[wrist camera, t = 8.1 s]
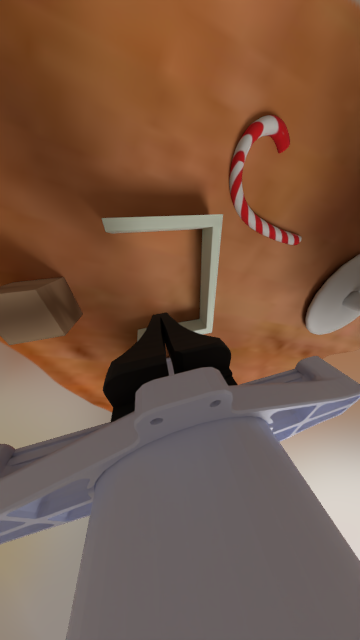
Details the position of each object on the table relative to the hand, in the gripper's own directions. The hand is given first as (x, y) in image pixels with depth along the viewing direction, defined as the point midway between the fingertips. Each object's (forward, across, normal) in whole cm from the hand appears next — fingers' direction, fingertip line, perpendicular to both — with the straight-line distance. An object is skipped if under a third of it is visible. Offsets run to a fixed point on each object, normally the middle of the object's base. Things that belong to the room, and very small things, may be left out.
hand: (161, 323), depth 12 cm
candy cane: (+9, -17, -10) cm, 21 cm away
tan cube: (+8, +13, -1) cm, 15 cm away
